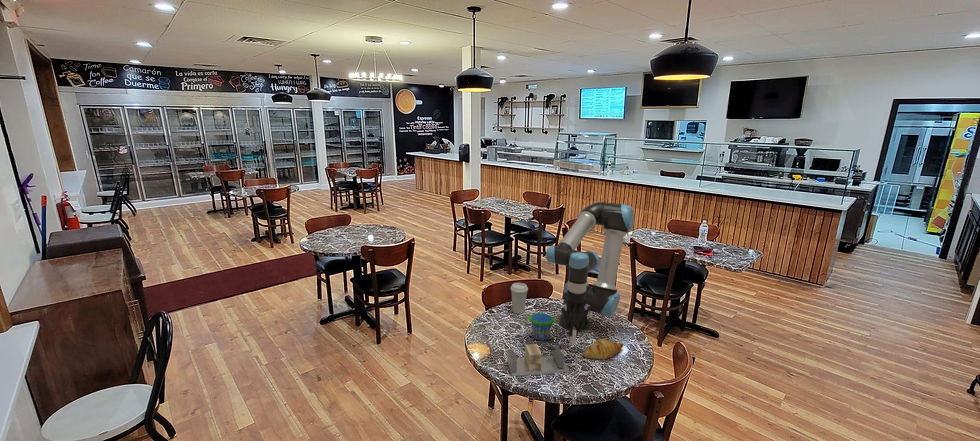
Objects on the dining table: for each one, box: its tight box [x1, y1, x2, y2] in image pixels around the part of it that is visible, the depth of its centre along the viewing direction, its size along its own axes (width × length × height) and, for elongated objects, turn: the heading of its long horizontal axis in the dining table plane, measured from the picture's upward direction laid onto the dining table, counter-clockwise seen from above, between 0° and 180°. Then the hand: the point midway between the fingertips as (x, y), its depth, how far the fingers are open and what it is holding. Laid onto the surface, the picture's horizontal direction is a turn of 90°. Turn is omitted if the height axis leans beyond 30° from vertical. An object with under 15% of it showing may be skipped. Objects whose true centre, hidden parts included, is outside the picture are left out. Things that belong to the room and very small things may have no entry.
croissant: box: [582, 338, 624, 360], centre depth 182 cm, size 21×10×8 cm, turn 112°
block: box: [524, 343, 543, 370], centre depth 170 cm, size 5×8×7 cm, turn 8°
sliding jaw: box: [546, 345, 565, 368], centre depth 173 cm, size 6×11×5 cm, turn 8°
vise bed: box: [506, 355, 569, 377], centre depth 172 cm, size 24×10×2 cm, turn 98°
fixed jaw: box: [507, 348, 517, 373], centre depth 169 cm, size 2×9×5 cm, turn 8°
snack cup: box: [524, 312, 559, 341], centre depth 195 cm, size 16×10×10 cm
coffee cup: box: [510, 282, 529, 315], centre depth 221 cm, size 10×10×15 cm
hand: (572, 342), depth 171 cm, fingers closed
